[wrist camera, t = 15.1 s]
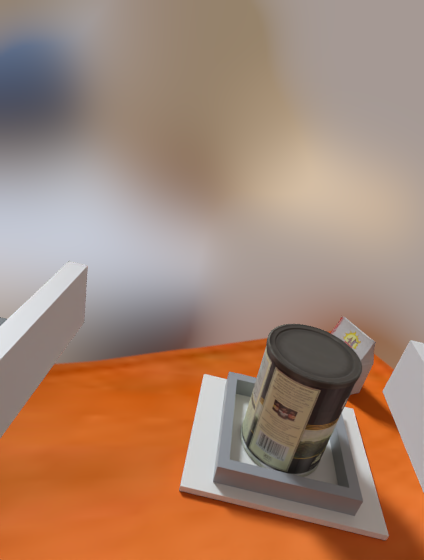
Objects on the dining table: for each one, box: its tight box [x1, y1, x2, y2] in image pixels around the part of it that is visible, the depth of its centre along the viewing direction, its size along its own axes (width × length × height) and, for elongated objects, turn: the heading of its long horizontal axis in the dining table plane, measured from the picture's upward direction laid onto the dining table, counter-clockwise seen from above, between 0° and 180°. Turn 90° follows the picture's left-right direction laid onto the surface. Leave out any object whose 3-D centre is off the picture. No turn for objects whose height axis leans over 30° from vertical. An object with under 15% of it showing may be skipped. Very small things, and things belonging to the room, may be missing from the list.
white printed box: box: [330, 317, 376, 395], centre depth 61 cm, size 4×7×10 cm, turn 25°
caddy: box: [179, 372, 389, 540], centre depth 48 cm, size 22×18×3 cm
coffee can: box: [240, 324, 362, 477], centre depth 45 cm, size 10×10×14 cm
